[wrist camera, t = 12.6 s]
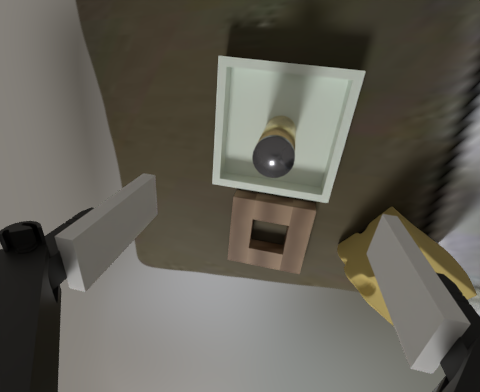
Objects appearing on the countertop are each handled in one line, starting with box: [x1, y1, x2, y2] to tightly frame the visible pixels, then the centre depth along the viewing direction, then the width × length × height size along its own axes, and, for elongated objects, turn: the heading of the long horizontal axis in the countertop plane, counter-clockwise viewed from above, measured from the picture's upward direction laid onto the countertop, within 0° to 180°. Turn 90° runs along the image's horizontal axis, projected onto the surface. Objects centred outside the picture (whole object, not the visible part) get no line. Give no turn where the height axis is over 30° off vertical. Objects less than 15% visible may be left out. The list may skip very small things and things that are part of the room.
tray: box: [212, 56, 366, 203], centre depth 34 cm, size 16×16×4 cm
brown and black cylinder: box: [252, 116, 296, 178], centre depth 29 cm, size 4×4×11 cm
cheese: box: [338, 207, 477, 326], centre depth 35 cm, size 10×11×10 cm
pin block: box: [228, 190, 316, 274], centre depth 41 cm, size 12×12×2 cm
